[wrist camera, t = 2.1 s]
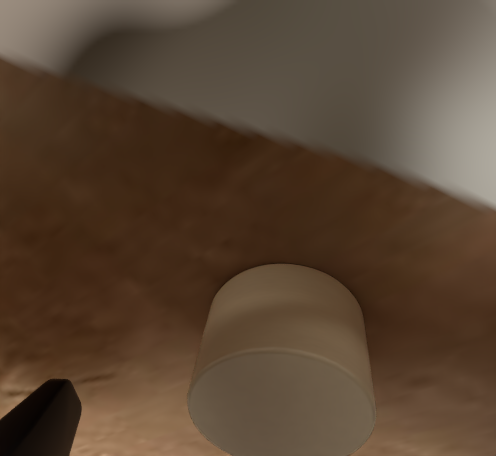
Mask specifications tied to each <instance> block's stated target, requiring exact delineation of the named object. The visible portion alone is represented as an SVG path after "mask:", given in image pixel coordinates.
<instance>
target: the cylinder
mask: <svg viewBox="0 0 496 456" xmlns="http://www.w3.org/2000/svg"><path fill="white" fill-rule="evenodd" d="M187 404H188V410H189V413H190V416H191V419H192V421H193V423H194V424H195V426H196V427H197V429H198V430H199V431H200V433H201V434H202V435H203V436H204V437H205V438H206V439H207V440H209V441H210V442H211V443H212V444H214V445H215V446H217V447H218V448H220V449H221V450H223V451H225V452H227V453H229V454H231V455H233V456H349V455H350V454H352V453H354V452H355V451H356V450H358V449H359V448H360V447H361V446H362V445H363V444H364V443H365V442H366V441H367V439H368V438H369V436H370V435H371V433H372V431H373V428H374V426H375V421H376V403H375V396H374V389H373V382H372V375H371V368H370V361H369V353H368V346H367V339H366V332H365V325H364V318H363V314H362V311H361V308H360V306H359V304H358V302H357V300H356V299H355V297H354V296H353V295H352V294H351V293H350V291H349V290H348V289H347V288H346V287H345V286H344V285H342V284H341V283H340V282H339V281H337V280H336V279H334V278H333V277H331V276H329V275H327V274H325V273H323V272H321V271H318V270H316V269H313V268H309V267H306V266H301V265H295V264H269V265H263V266H258V267H255V268H251V269H249V270H246V271H244V272H241V273H240V274H238V275H236V276H235V277H233V278H232V279H230V280H229V281H228V282H227V283H225V284H224V285H223V287H222V288H221V289H220V290H219V291H218V293H217V294H216V296H215V297H214V299H213V302H212V304H211V308H210V311H209V315H208V319H207V323H206V326H205V330H204V334H203V337H202V341H201V345H200V348H199V352H198V356H197V359H196V363H195V367H194V370H193V374H192V378H191V381H190V385H189V389H188V393H187Z"/></svg>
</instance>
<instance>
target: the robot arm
mask: <svg viewBox="0 0 496 456" xmlns="http://www.w3.org/2000/svg"><path fill="white" fill-rule="evenodd" d="M81 411H82V407H81V402H80V400H79V397H78V395H77V393H76V391H75V389H74V387H73V384H72V383H71V381H70V380H68V379H50V380H48V381H46V382H45V383H44V384H42V385H41V386H40V387H39V388H38V389H36V390H35V391H34V392H33V393H32V394H30V395H29V396H28V397H27V398H26V399H24V400H23V401H22V402H21V403H20V404H18V405H17V406H16V407H15V408H14V409H12V410H11V411H10V412H9V413H8V414H6V415H5V416H4V417H3V418H2V419H0V456H69V454H70V451H71V447H72V444H73V440H74V437H75V434H76V430H77V427H78V423H79V420H80V416H81Z"/></svg>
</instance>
